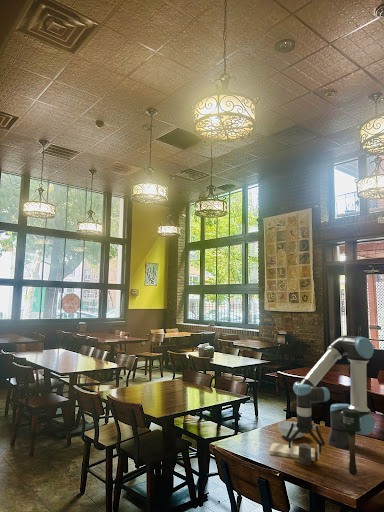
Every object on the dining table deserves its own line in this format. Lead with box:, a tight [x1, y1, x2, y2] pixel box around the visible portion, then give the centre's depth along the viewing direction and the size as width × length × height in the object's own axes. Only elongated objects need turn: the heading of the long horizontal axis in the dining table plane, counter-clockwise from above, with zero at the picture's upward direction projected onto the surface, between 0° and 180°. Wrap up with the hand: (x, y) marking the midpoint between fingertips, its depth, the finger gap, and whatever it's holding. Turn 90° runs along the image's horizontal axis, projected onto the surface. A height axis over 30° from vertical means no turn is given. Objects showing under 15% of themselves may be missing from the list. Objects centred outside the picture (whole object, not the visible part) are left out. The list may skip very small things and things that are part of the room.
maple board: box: [269, 442, 316, 462], centre depth 212 cm, size 24×13×2 cm, turn 72°
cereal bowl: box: [277, 420, 305, 440], centre depth 239 cm, size 17×17×7 cm
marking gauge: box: [298, 443, 312, 466], centre depth 207 cm, size 6×18×8 cm, turn 162°
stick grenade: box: [342, 409, 361, 475], centre depth 190 cm, size 8×9×30 cm
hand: (304, 456), depth 201 cm, fingers open, 13 cm apart
